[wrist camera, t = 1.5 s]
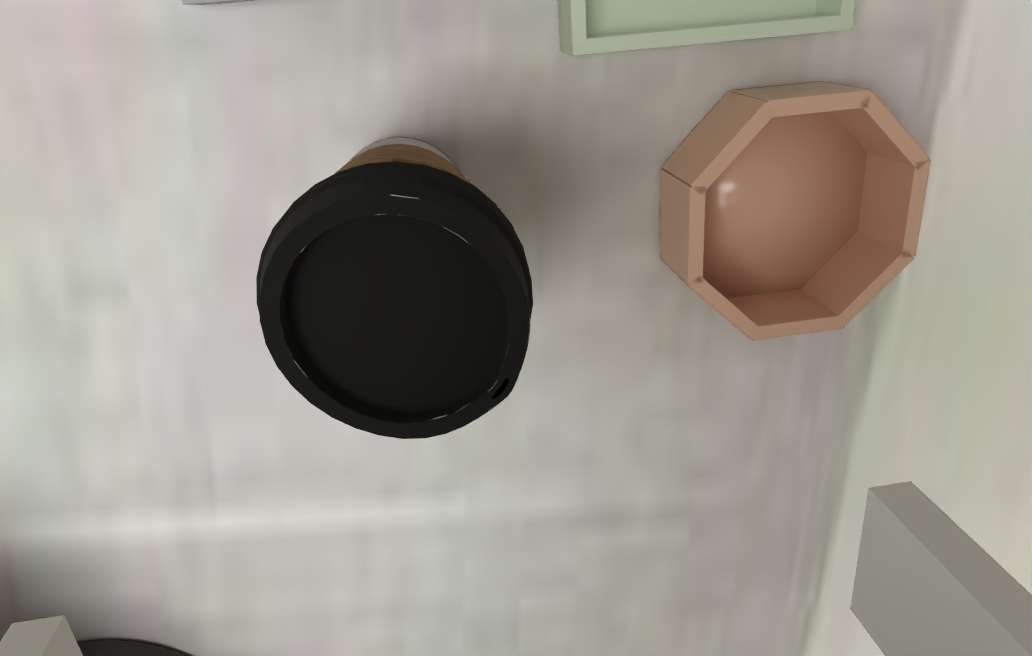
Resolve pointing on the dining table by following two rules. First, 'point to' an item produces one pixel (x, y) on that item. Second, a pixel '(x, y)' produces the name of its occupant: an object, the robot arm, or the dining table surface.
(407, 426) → the coffee cup
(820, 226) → the bin
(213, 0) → the frame
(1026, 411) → the dining table surface
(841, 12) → the green square tray
